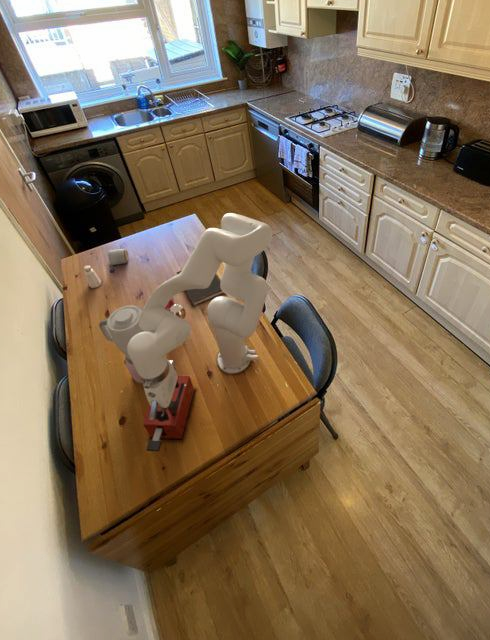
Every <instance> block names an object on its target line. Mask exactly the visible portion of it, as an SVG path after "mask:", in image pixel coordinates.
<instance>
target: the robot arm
mask: <svg viewBox="0 0 490 640" xmlns="http://www.w3.org/2000/svg"><path fill="white" fill-rule="evenodd" d="M272 240H273V229H272V227H271V226H270V225H269V224H267V223H265V222H262V221H260V220H257V219H254V218H251V217H248V216H245V215H242V214H239V213H234V212H228V213H225V214H224V215H223V216H222V217H221V220H220V228H217V227H209V228H207V229H206V230H205V231H204V232H203V233H202V234H201V236H200V237H199V240H198V241H197V244H196V245H195V247H194V248H193V250H192V252H191V254H190V256H189V257H188V259H187V261H186V262H185V264H184V266H183V268H182V269H181V270H182V271H181V270H180V271H181V272H180V273H179V274H176V275H174V276H172V277H170V278H169V279H167V280H166V281H164V282H162V283H161V284H160V285H158V286H157V287H156V288H155V289H154V291H152V292H151V294H150V296H149V297H148V299H147V301H146V302H145V304H144V306H143V308H142V312H141V314H140V317H139V326H140V328H141V329H142V330H143V331H144V332H140V333H138V334H136V335H135V336H133V337H132V338H131V340H130V341H129V343H128V346H127V352H128V354H129V356H130V358H131V360H132V362H133V364H134V366H135V368H136V370H137V372H138V374H139V376H140V378H141V380H142V382H143V385H142V386H143V390H144V394H145V397H146V400H147V402H148V404H150V406H151V411H150V417H149V420H158V421H161V422H163V421H164V420H167V421H168V420H169V417H168V415H167V412H166V411H165V408H167V407H168V406H169V404H170V402H171V399H172V396H173V392H174V389H175V388H178V387H179V384H178V381H177V378H178V376H177V375H178V373H177V371H176V367H175V360H174V359H173V360H172V359H168V358H167V356H166V355H168V354H169V353H171V352H172V351H173V350H175V349H177V348H178V347H180V346H181V345H182V344H184V343H185V342H186V341H187V340H188V338H189V337H190V335H191V333H192V326H191V324H190V323H189V322H188V321H187V320H185V318H184V319H182V318H180V317H178V316H176V315H175V314H173V313H171V312H169V311H167V310H165V307H166V306H167V304H168V302H169V301H170V300H171V299H172V297H173V298H174V297H175V296H176V295H178V294H179V293H181V292H186V291H185V290H189V289H205V288H207V287H209V285H210V284H211V282H212V280H213V278H214V276H215V274H217V273H218V270H219V269H220V267H221V265H222V263H225V264H224V266H223V267H224V268H223V271H222V275H221V278H220V281H221V283H220V288H221V290H222V291H223V292H224V293H223V294H226V295H228V297H227V296H222V295H219V296H216V297H214V298H212V300H211V301H210V302H209V304H208V306H207V308H206V309H207V310H206V313H207V319H208V321H209V324H210V325H211V327H212V329H213V331H214V335H215V339H216V343H217V347H218V351H219V352H218V355H217V366H218V367H219V369H220V370H221V371H222V372H224V373H225V374H230V375H231V374H232V375H233V374H240V373H241V372H243V371H245V369H247V368H248V366H250V364H251V361H254V362H255V361H257V362H258V361H259V355H258V354H256V353H257V350H256V349H250V348H249V347H248V345H246V342H245V339H248V338H249V339H250V338H251V337H252V336H253V335H254V334H255V332H256V330H257V329H258V325H259V322H260V320H261V317H262V314H263V309H264V306H265V303H266V299H267V296H268V290H269V285H268V282H267V280H265V279H266V278H264V277H262V276H260V275H258V274H255V273H253V272H252V268H253V263H254V260H255V257H257V256H258V255H260V254H261V253H262V252H263V251H265V250H266V249H267V248H268V247H269V246H270V244H271V242H272ZM229 296H230V297H231V298H230V297H229ZM233 298H234V299H233ZM237 300H238V301H237ZM239 301H241V302H239ZM157 407H161V411H157Z"/></svg>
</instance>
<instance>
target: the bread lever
mask: <svg viewBox="0 0 490 640" xmlns="http://www.w3.org/2000/svg"><path fill="white" fill-rule="evenodd" d="M161 434H162V428H156V430H155V433H154V436H153V439H151V440H148V441H147V445H146V448H145V450H146V452H160V451H161V448H162V447H161V446H162V443H163V442H162V440H160V437H161Z"/></svg>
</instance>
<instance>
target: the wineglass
mask: <svg viewBox="0 0 490 640" xmlns="http://www.w3.org/2000/svg"><path fill="white" fill-rule="evenodd" d="M170 312H171V313H173V314H175V315H176V316H178V317H180V318H182V319H184V320H185V318H186V314H187V313H186V310H185V308H184V306H183V305H182V304H181V303H175V304H174V305H172V306H171V308H170Z"/></svg>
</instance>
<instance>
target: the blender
mask: <svg viewBox="0 0 490 640" xmlns="http://www.w3.org/2000/svg"><path fill="white" fill-rule="evenodd" d="M142 310H143V308H142V309H141V307H139V306H137V305H133V304H131V305H130V304H129V305H124V306H121V307H119V308H116V309H115V310H114V311H112V312H111V314H110V315H109V316H108V318H107V319H103V320H101V321H100V322H99V324H98V326H99V329H100V330H101V333H102V334H103V336H104V337H105V339H106V340H107V341H109V342H114V344H115V346H116V347H117V349H118V350H119V351H120V352H121V353H122V354H123V355H124V361H123V362H124V365H125V367H126V369H127V370H128V372H129V374H130V375H131V378H132V379H133V381H134V382H135V383H136V384H138V385H141V386H143V382H142V380H141V378H140V376H139V374H138V372H137V370H136V368H135V366H134V364H133V362H132V360H131V358H130V356H129V354H128V352H127V346H128V343H129V341H130V340H131V338H132V337H133V336H135V335H136V334H138V333H140V332H144V331H143V330H142V329H141V328H140V326H139V317H140V314H141V312H142Z"/></svg>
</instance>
